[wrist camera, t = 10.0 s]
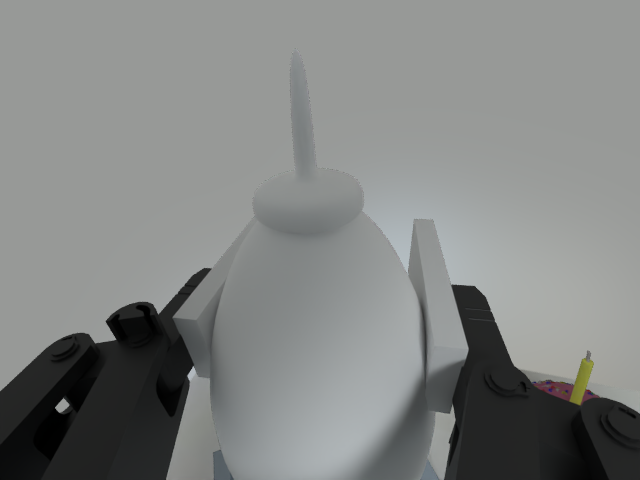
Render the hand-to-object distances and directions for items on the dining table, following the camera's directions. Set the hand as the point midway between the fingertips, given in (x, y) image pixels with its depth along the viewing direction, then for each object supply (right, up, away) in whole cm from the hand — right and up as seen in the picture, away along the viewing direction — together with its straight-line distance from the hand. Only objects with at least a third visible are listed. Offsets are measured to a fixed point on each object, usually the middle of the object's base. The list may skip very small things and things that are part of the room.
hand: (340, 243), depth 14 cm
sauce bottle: (0, -12, +1) cm, 12 cm away
